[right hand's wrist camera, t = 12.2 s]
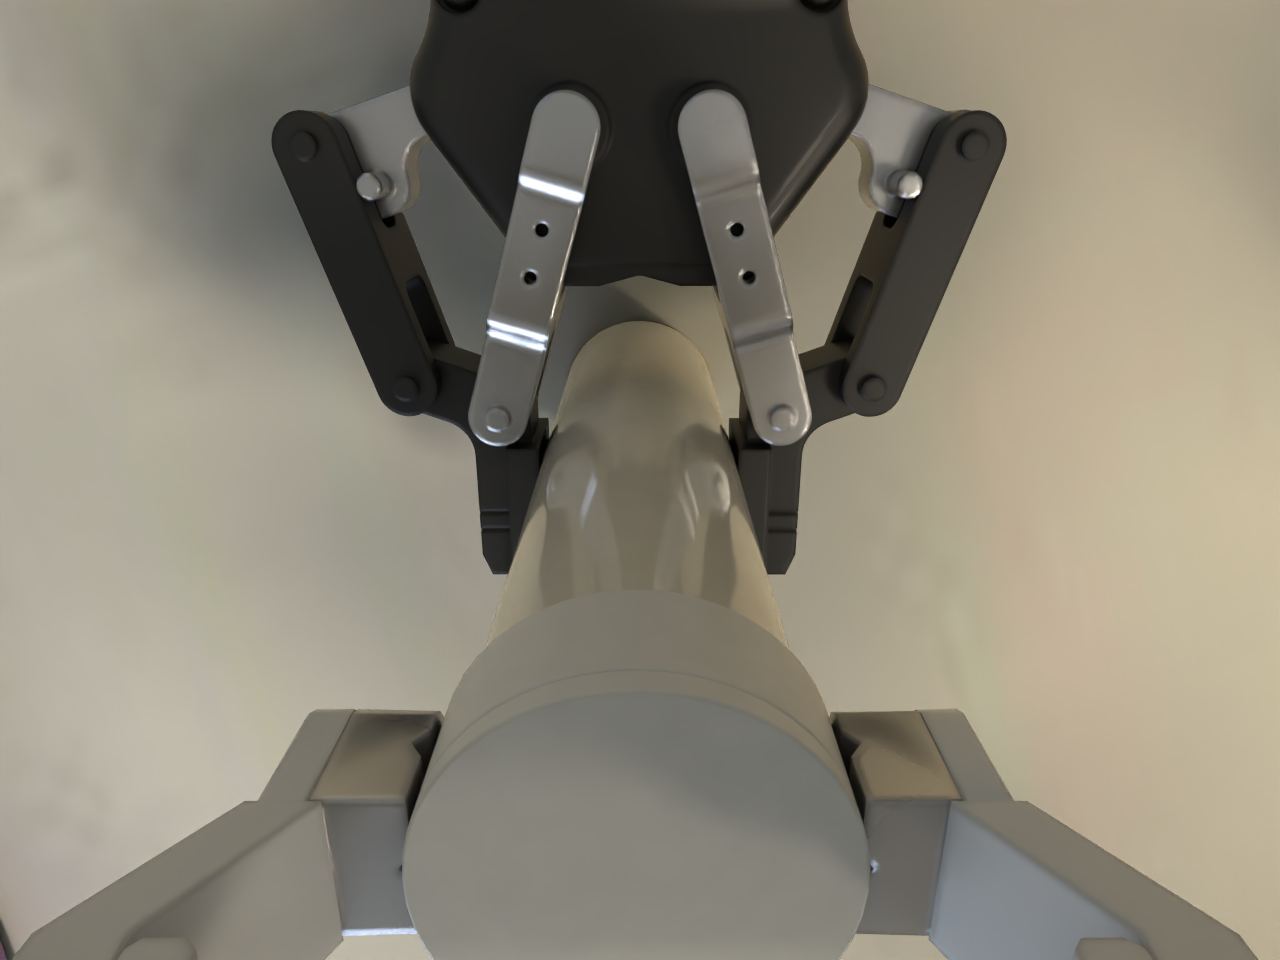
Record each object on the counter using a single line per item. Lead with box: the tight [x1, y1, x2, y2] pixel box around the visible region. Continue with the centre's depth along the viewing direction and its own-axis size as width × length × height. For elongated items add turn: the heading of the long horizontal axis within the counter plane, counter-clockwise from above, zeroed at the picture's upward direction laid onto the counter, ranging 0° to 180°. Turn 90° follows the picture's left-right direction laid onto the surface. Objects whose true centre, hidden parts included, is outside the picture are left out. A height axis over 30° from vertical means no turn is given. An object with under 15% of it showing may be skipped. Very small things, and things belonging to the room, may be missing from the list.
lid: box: [402, 589, 871, 960], centre depth 10 cm, size 5×5×2 cm
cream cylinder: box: [486, 321, 789, 649], centre depth 17 cm, size 4×4×18 cm
